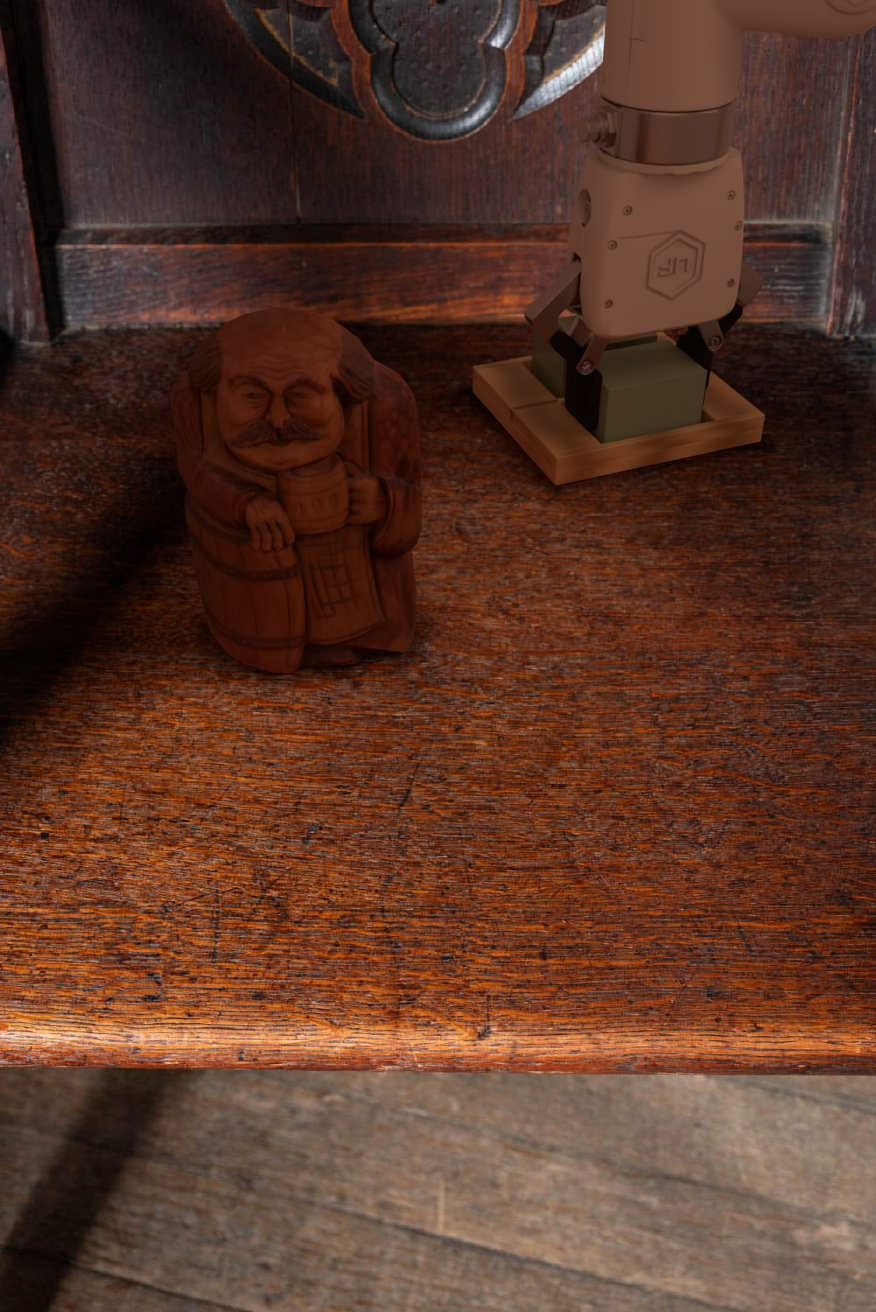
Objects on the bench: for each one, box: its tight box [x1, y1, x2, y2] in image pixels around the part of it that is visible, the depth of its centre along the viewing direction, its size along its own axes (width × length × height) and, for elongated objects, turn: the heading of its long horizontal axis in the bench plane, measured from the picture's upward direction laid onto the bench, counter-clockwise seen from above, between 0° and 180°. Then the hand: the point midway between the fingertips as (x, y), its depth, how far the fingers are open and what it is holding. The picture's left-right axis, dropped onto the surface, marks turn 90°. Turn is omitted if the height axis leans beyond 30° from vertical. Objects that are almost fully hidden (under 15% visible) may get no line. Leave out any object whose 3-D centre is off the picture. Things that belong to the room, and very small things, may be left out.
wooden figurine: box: [169, 307, 423, 674], centre depth 62 cm, size 12×6×18 cm, turn 98°
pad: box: [589, 340, 707, 444], centre depth 82 cm, size 7×5×4 cm
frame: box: [472, 314, 766, 487], centre depth 85 cm, size 15×14×5 cm
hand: (635, 409), depth 82 cm, fingers closed on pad, 7 cm apart
